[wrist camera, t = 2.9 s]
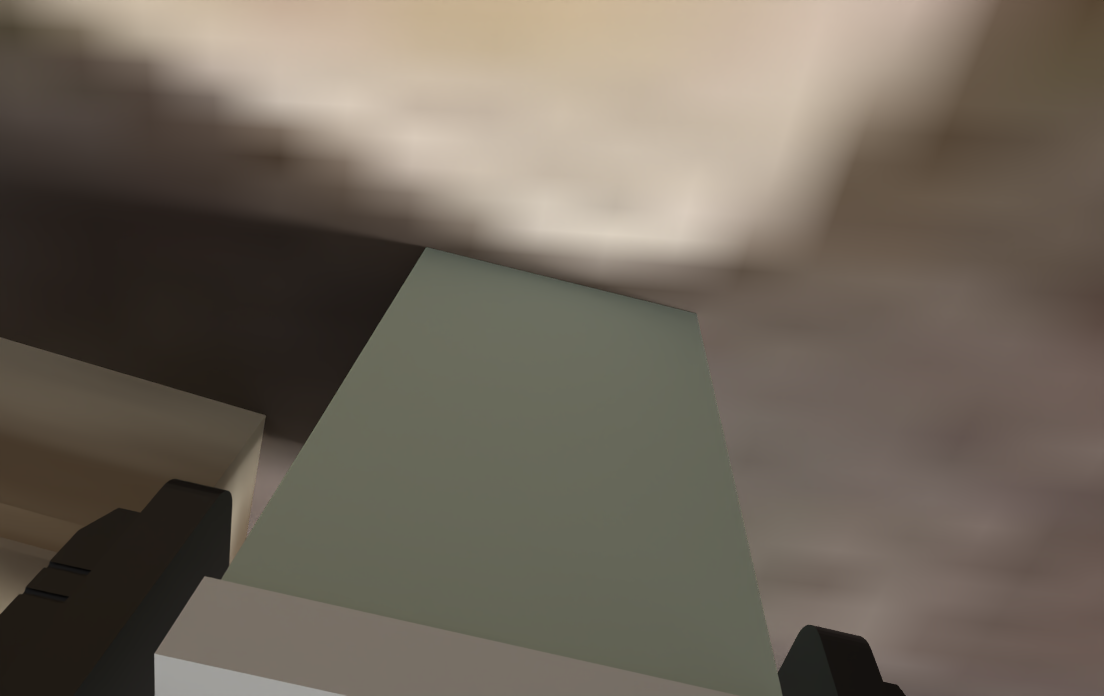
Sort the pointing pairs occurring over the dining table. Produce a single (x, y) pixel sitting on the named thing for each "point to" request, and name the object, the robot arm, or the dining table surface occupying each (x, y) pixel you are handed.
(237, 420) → the beige box
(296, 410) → the dining table surface
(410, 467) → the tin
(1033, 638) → the dining table surface
